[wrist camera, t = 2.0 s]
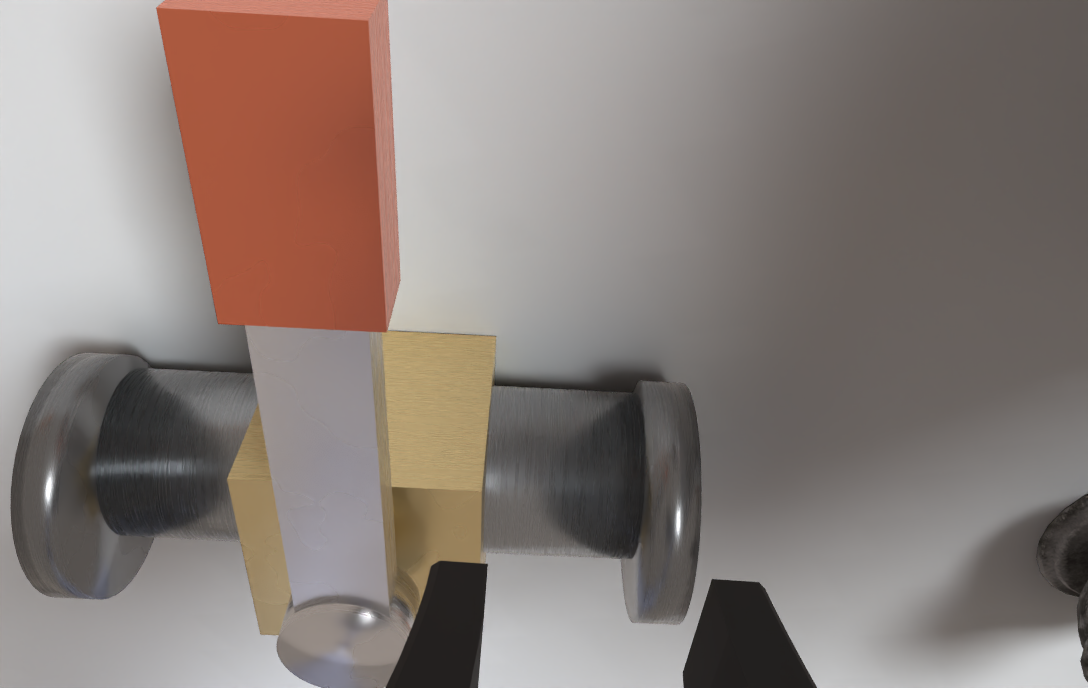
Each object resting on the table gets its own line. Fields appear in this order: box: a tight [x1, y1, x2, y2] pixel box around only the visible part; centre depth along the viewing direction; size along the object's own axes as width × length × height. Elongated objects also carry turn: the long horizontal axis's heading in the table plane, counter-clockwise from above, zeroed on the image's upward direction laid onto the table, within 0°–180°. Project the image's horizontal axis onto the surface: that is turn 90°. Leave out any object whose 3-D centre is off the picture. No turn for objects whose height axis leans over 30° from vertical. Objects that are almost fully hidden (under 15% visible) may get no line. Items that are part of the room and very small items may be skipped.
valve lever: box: [156, 0, 420, 688], centre depth 15 cm, size 14×3×1 cm, turn 177°
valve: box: [11, 331, 701, 635], centre depth 21 cm, size 14×6×6 cm, turn 87°
